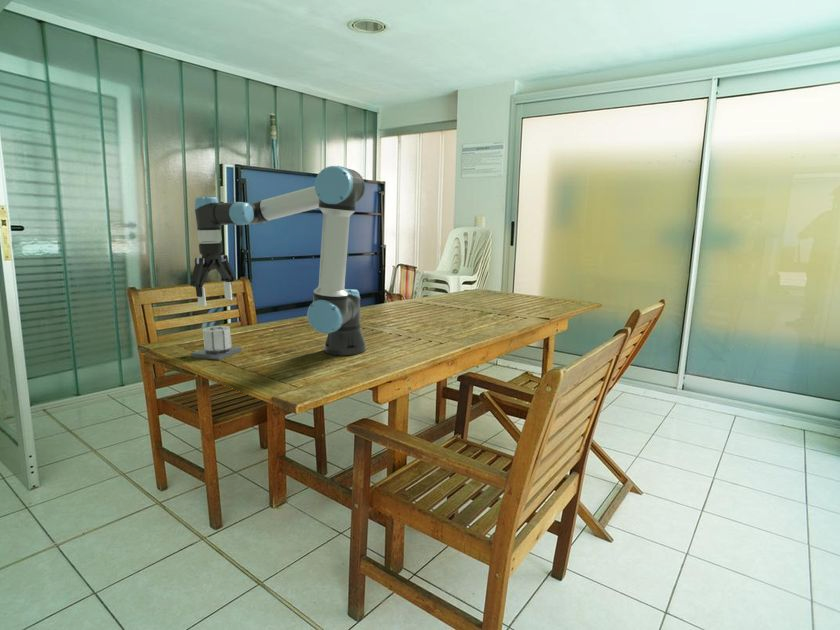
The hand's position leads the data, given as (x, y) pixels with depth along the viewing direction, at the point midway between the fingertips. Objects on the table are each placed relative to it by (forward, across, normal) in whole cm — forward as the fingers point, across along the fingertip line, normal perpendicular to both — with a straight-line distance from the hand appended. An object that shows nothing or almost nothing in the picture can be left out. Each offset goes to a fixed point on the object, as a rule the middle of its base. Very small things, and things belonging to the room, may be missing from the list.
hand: (216, 302), depth 176 cm
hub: (+16, 0, -1) cm, 17 cm away
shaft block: (+19, +1, -1) cm, 19 cm away
